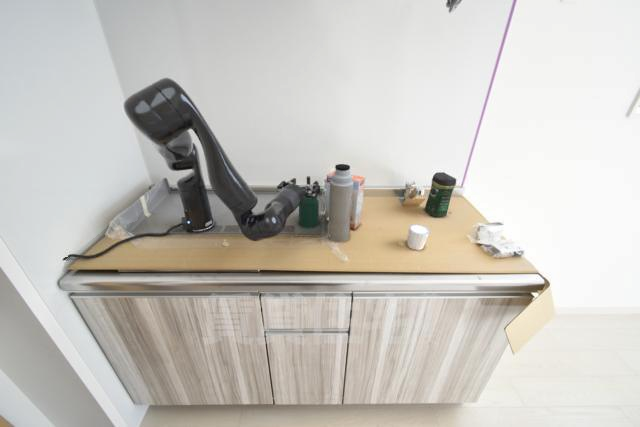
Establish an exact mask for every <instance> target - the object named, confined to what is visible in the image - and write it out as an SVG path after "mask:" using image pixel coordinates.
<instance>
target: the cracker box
mask: <svg viewBox="0 0 640 427" xmlns="http://www.w3.org/2000/svg"><path fill="white" fill-rule="evenodd" d="M334 173H335V170H333V171H331V172H330V173H327V174H326V185H325V186H326V187H325V221H326V222H328V221H327V219H326V218H328V217H329V203H330V181H331V180H332V177H333V174H334ZM351 175H352V181H353V183H354V184H353V195H352V206H351V218H350V230H356V229H357V228H358V226H360V224H361V220H362V209H363V201H364V200H363V199H364V191H365V182H366V177H364V176H360V175H357V174H356V175H355V174H351Z"/></svg>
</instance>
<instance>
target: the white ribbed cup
mask: <svg viewBox="0 0 640 427" xmlns="http://www.w3.org/2000/svg"><path fill="white" fill-rule="evenodd" d="M429 235H430V229H429V228H428V227H426V226H424V225H421V224H410V225H409V227H408V233H407V242H406V245H407V246H408V247H409V248H410V249H412V250H416V251H420V250H422V249H424V247H425V245H426V241H427V239H428V236H429Z"/></svg>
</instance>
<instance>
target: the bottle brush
mask: <svg viewBox="0 0 640 427" xmlns="http://www.w3.org/2000/svg"><path fill="white" fill-rule="evenodd" d="M307 184H309V185H311V176H309V175H308V176H306V185H307ZM307 198H310V196H309V195H308V196H307Z"/></svg>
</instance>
